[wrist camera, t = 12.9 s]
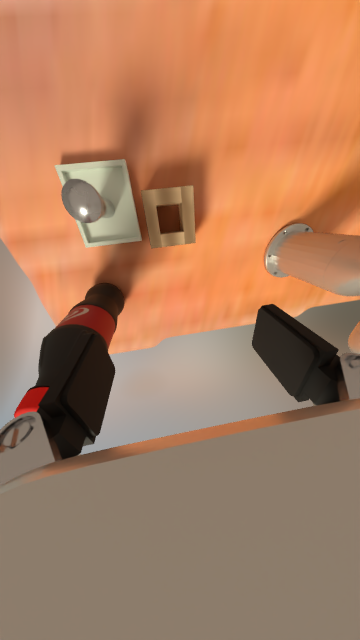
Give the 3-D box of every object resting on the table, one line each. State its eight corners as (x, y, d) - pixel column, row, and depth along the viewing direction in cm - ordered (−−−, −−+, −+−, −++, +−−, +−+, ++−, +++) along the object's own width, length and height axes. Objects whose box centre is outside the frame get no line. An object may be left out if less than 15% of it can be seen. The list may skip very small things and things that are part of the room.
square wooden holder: (187, 189, 31) (193, 185, 27) (190, 240, 36) (195, 242, 32) (142, 194, 31) (140, 190, 27) (151, 245, 36) (151, 248, 31)
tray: (126, 162, 28) (124, 159, 27) (142, 239, 35) (141, 240, 33) (59, 168, 27) (54, 165, 26) (89, 246, 34) (86, 247, 33)
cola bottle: (84, 282, 38) (-51, 405, 13) (120, 277, 38) (57, 385, 13) (98, 313, 43) (18, 447, 17) (129, 308, 43) (96, 431, 18)
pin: (114, 191, 30) (93, 176, 19) (121, 220, 32) (106, 221, 22) (88, 194, 29) (54, 180, 19) (98, 223, 32) (71, 224, 22)
